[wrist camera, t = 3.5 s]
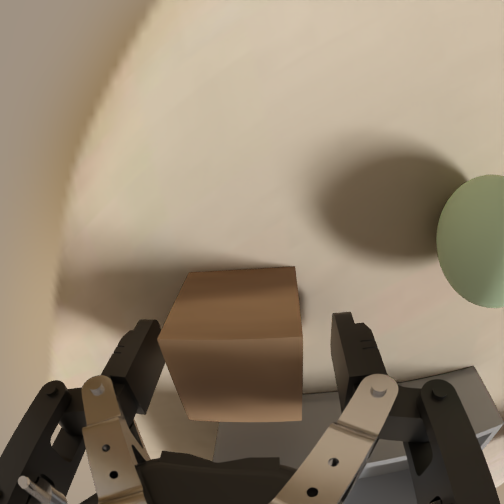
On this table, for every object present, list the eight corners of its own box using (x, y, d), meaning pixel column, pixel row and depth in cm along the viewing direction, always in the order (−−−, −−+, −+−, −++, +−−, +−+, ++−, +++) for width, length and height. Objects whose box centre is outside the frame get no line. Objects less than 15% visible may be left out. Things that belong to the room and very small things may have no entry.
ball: (420, 160, 10) (496, 195, 6) (506, 166, 10) (582, 200, 5) (410, 273, 13) (459, 347, 8) (491, 264, 12) (547, 321, 8)
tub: (223, 396, 17) (211, 469, 12) (474, 366, 15) (504, 422, 10) (249, 482, 22) (245, 528, 18) (417, 463, 21) (427, 505, 16)
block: (189, 271, 13) (157, 338, 9) (295, 265, 13) (302, 336, 9) (207, 348, 15) (189, 419, 11) (297, 346, 15) (301, 420, 11)
